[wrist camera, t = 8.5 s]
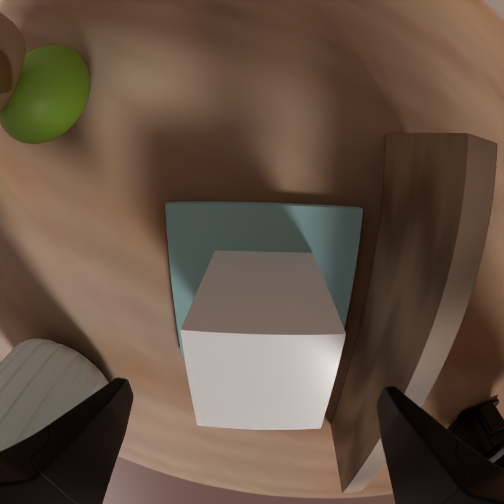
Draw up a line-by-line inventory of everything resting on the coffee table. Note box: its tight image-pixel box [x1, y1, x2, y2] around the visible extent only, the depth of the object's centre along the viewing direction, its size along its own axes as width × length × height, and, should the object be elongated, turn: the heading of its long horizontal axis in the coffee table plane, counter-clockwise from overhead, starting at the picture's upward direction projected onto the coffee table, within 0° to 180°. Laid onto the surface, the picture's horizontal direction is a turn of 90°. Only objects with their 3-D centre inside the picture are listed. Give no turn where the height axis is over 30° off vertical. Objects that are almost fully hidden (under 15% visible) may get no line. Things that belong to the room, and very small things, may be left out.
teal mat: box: [165, 201, 363, 359], centre depth 16 cm, size 10×10×1 cm
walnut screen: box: [331, 133, 497, 494], centre depth 14 cm, size 22×2×7 cm, turn 179°
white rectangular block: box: [180, 250, 346, 430], centre depth 12 cm, size 5×5×7 cm
